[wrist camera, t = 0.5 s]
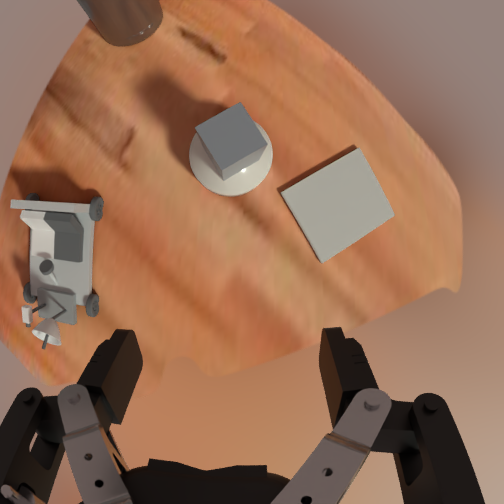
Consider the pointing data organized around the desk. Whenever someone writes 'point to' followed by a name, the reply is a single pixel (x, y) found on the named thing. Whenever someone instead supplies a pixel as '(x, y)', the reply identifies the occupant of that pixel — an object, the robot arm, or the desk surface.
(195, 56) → the desk surface
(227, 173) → the cap block
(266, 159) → the white round part
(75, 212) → the toy car
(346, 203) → the rubber mat
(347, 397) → the robot arm
